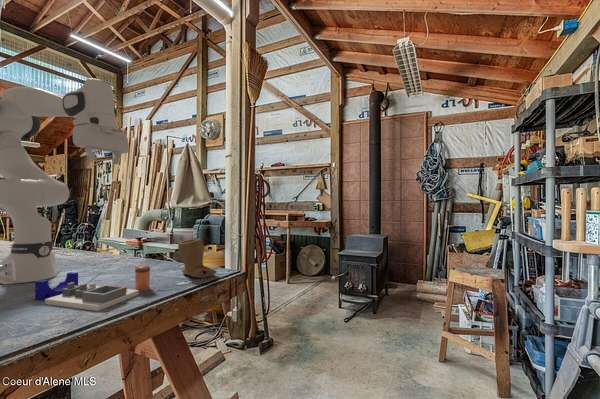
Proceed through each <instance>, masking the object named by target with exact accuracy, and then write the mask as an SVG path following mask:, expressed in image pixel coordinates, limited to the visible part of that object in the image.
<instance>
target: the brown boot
mask: <svg viewBox="0 0 600 399" xmlns="http://www.w3.org/2000/svg"><path fill="white" fill-rule="evenodd" d="M203 242H204V241H203V240H202V239H201V238H192V239H187V240H182V241H180V242H178V244H177V245H178V247H177V248H178V253H179V255H180V257H181V259H182V261H183V264H184V268H183V269H181V273H183V274H185V275H188V276H191V277H194V278H200V279H202V278H203V279H204V278H208V277H209V278H210V277H211V276H213V275H216V274H217V270H216V269H213V268H211V267H207V266H205V265H204V251H205V250H204V243H203Z"/></svg>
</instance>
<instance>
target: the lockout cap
mask: <svg viewBox="0 0 600 399" xmlns="http://www.w3.org/2000/svg"><path fill="white" fill-rule="evenodd" d="M134 268H135V269H134V272H135V279H134V280H135V281H134V282H135V286H134V287H135V289H134V290H139V292H140V291H142V292H146V291H149V290H150V287H151V284H150V283H151V281H150V278H151V276H150V273H151V268H150V265H147V264H143V265H138V266H135V267H134Z"/></svg>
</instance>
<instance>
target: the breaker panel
mask: <svg viewBox="0 0 600 399" xmlns="http://www.w3.org/2000/svg"><path fill="white" fill-rule="evenodd" d="M136 296H139V290H135V289H133V288H132V289H131V288H128V287H127V286H124V285H121V284H115V285H109V284H102V285H97V283H95V282H92V283H89V284H88V285H87V283H82V284H78V286H75V282H71V283H68V284H67V288H64V289H62V294H60V295H57V296H54V297H50V298H47V299H45V300H44V305H49V306H55V307H56V306H58V307H64V308H71V309H80V310H81V309H82V310H86V311H87V310H88V311H95V312H99V311H101V310H103V309H107V308H108V307H112V306H114V305H116V304H119V303H122V302H123V301H127V300H128V299H131V298H134V297H136Z"/></svg>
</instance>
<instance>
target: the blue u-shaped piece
mask: <svg viewBox="0 0 600 399" xmlns="http://www.w3.org/2000/svg"><path fill="white" fill-rule="evenodd" d="M71 282H75V286H79V272H78V271H77V272H76V271H75V272H73V271H70V272H67V273H66V276H65V280H63V281H61V282H59V283H58V284H57V285H56V286H54V288H51V287H50V285H49V280H48V279H44V280H38V281H34V284H35V286H34V288H35V289H34V291H35V292H34V294H35V295H34V297H35V298H34V300H36V301H45V299H47V298H50V297H54V296H57V295H60V294H62V289H64V288H67V284H68V283H71Z"/></svg>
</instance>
